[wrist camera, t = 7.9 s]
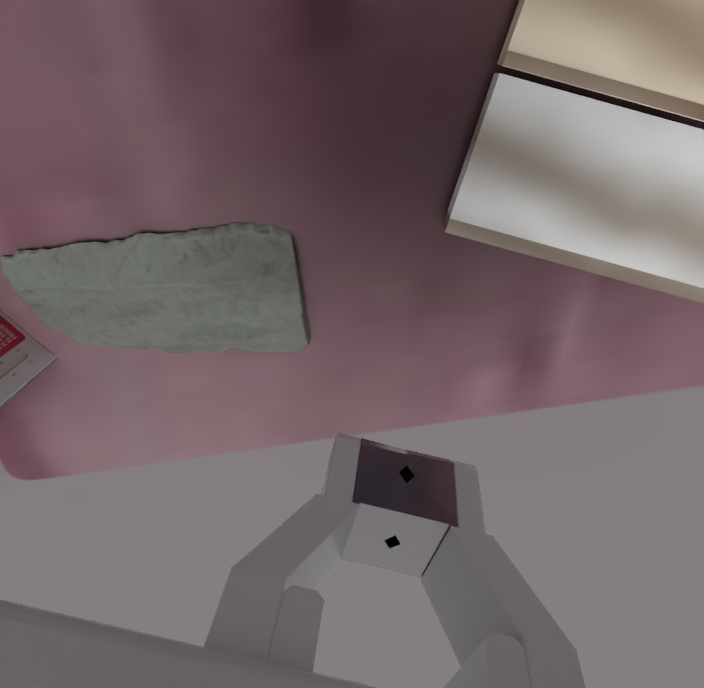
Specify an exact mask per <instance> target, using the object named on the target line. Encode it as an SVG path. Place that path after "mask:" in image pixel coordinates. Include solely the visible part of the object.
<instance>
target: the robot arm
mask: <svg viewBox="0 0 704 688" xmlns="http://www.w3.org/2000/svg"><path fill="white" fill-rule="evenodd" d="M341 559H344V560H349V561H353V562H358V563H364V564H368V565H373V566H377V567H382V568H386V569H389V570H393V571H397V572H401V573H404V574H408V575H412V576H416V577H419V578H422V579H421V582H422V584H423V586H424V588H425V590H426V592H427V595H428V597H429V599H430V601H431V603H432V605H433V607H434V610H435V612H436V614H437V616H438V618H439V620H440V623H441V624H442V627H443V629H444V631H445V633H446V635H447V638H448V640H449V642H450V644H451V646H452V648H453V650H454V653H455V655H456V657H457V659H458V661H459V663H460V666H461V668H460V669H459V670H458V671H457V672H456V674H455V675H454V676H453V677H452V678H451V680H450V681H449V682H448V683H447V685H446V686H445V687H444V688H585V685H584V680H583V676H582V672H581V668H580V664H579V660H578V655H577V651H576V649H575V648H574V646H573V645H572V644H571V642H570V641H569V639H568V638H567V637H566V636H565V634H564V633H563V631H562V630H561V629H560V627H559V626H558V624H557V623H556V622H555V620H554V619H553V618H552V616H551V615H550V614H549V612H548V611H547V610H546V608H545V607H544V605H543V604H542V602H541V601H540V600H539V598H538V597H537V596H536V594H535V593H534V592H533V590H532V589H531V588H530V586H529V585H528V583H527V582H526V581H525V579H524V578H523V576H522V575H521V574H520V572H519V571H518V570H517V568H516V567H515V566H514V564H513V563H512V561H511V560H510V559H509V557H508V556H507V555H506V553H505V552H504V550H503V549H502V548H501V546H500V545H499V544H498V542H497V541H496V539H494V537H493V536H491V535H487V534H486V532H485V523H484V516H483V508H482V500H481V492H480V484H479V477H478V470H477V468H476V467H475V466H474V465H470V464H465V463H461V462H457V461H450V460H448V459H444V458H440V457H435V456H431V455H427V454H422V453H418V452H414V451H409V450H403V449H400V448H396V447H392V446H389V445H385V444H381V443H378V442H374V441H370V440H366V439H362V438H361V439H360V438H357V437H353V436H350V435H346V434H342V433H339V432H338V433H337V435H336V438H335V441H334V445H333V449H332V452H331V456H330V460H329V463H328V466H327V470H326V474H325V478H324V482H323V486H322V489H321V494H317V495H315V496H314V497H313V498H312V499H311V500H310V501H308V502H307V503H306V504H305V505H304V506H303V507H302V508H300V509H299V510H298V511H297V512H296V513H295V514H293V515H292V516H291V517H290V518H289V519H288V520H286V521H285V522H284V523H283V524H282V525H281V526H280V527H278V528H277V529H276V530H275V531H274V532H273V533H271V534H270V535H269V536H268V537H267V538H266V539H264V540H263V541H262V542H261V543H260V544H259V545H257V547H255V548H254V549H253V550H252V551H251V552H249V553H248V554H247V555H246V556H245V557H244V558H243V559H241V560H240V561H239V562H238V563H237V564H236V565H234V566H233V567H232V568H231V571H230V574H229V577H228V580H227V582H226V585H225V588H224V591H223V594H222V596H221V599H220V602H219V605H218V608H217V611H216V613H215V617H214V619H213V622H212V625H211V628H210V631H209V633H208V636H207V639H206V642H205V645H204V647H203V646H198V645H194V644H190V643H186V642H181V641H177V640H173V639H168V638H164V637H160V636H156V635H151V634H146V633H142V632H138V631H134V630H130V629H125V628H121V627H116V626H112V625H108V624H103V623H99V622H95V621H90V620H86V619H82V618H78V617H73V616H69V615H65V614H61V613H56V612H52V611H47V610H43V609H39V608H34V607H30V606H26V605H21V604H17V603H12V602H9V601H4V600H0V688H379V687H375V686H371V685H367V684H363V683H358V682H354V681H350V680H345V679H341V678H337V677H332V676H328V675H323V674H319V673H315V672H313V666H314V660H315V653H316V647H317V641H318V634H319V628H320V622H321V615H322V609H323V603H324V600H323V598H322V597H321V595H320V594H319V593H318V591H317V590H316V589H317V588H318V587H319V585H320V584H321V583H322V582H323V581H324V580H325V578H326V577H327V576H328V575H329V574H330V573H331V571H332V570H333V569H334V568H335V567H336V565H337V564H338V563H339V562H340V560H341Z"/></svg>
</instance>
